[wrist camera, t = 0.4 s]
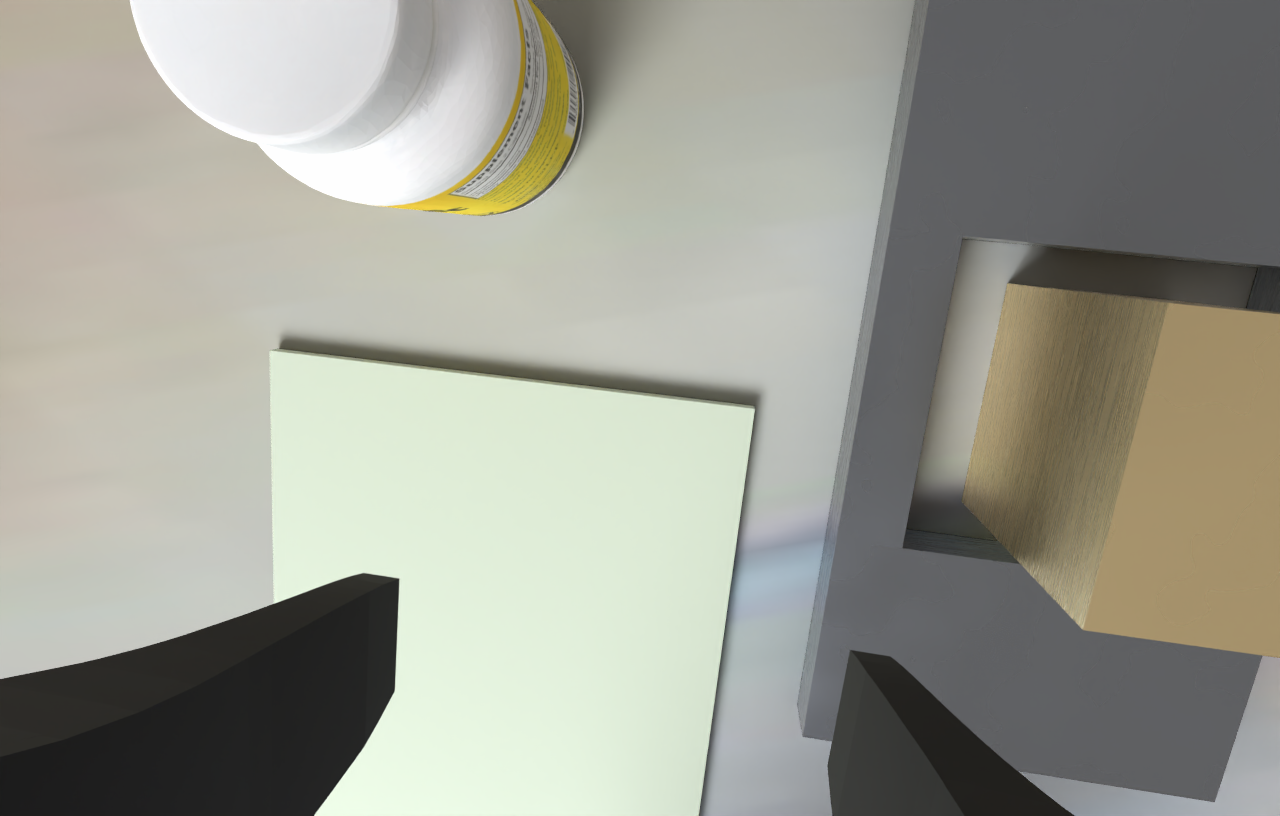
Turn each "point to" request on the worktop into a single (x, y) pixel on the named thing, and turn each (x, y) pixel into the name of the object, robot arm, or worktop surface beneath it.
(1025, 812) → the robot arm
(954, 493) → the worktop surface
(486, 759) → the sage mat
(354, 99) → the supplement bottle
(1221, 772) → the iron frame
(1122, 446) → the tan rectangular block
